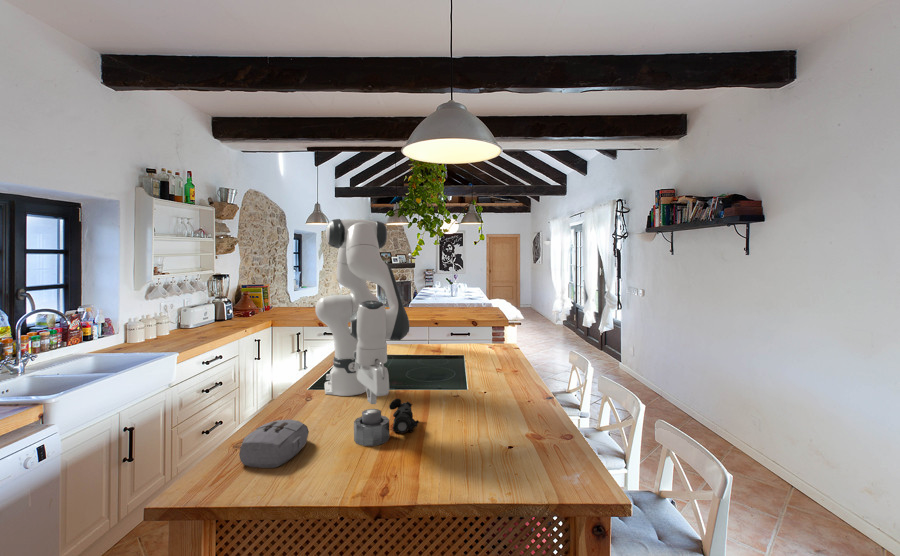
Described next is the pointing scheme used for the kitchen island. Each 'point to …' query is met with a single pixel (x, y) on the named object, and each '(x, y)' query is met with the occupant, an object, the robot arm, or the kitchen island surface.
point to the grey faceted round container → (371, 432)
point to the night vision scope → (403, 416)
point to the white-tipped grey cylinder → (371, 417)
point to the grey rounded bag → (273, 443)
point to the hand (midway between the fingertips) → (372, 402)
